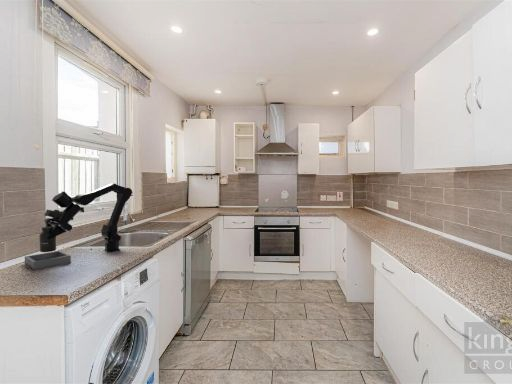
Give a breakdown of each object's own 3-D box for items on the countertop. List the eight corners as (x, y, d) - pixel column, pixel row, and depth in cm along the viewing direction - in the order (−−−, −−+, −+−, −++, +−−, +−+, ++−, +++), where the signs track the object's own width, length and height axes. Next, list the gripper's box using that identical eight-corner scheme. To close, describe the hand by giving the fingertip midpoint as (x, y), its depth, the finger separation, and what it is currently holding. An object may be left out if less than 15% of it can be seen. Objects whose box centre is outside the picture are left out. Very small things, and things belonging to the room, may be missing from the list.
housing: (60, 257, 150) (60, 250, 149) (70, 263, 140) (70, 255, 140) (24, 264, 138) (24, 256, 138) (33, 270, 129) (33, 262, 128)
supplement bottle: (40, 253, 134) (39, 228, 133) (38, 250, 139) (38, 226, 138) (57, 250, 139) (57, 227, 138) (55, 248, 144) (54, 225, 143)
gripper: (47, 202, 146) (22, 226, 137) (64, 204, 136) (38, 230, 127) (65, 215, 153) (41, 239, 144) (82, 218, 143) (58, 244, 134)
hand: (44, 238), depth 137 cm, fingers closed on supplement bottle, 7 cm apart
